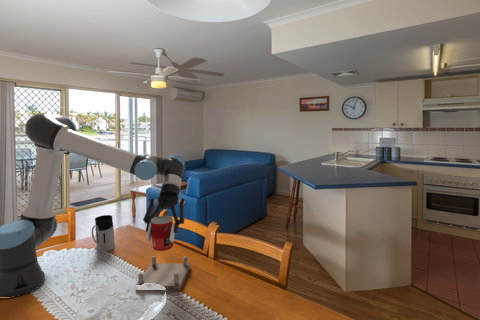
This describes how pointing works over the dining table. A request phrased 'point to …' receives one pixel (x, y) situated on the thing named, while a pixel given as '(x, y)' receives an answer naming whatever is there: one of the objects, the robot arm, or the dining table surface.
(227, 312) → the dining table surface
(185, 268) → the peg board
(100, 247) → the grey mug
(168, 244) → the canned food
